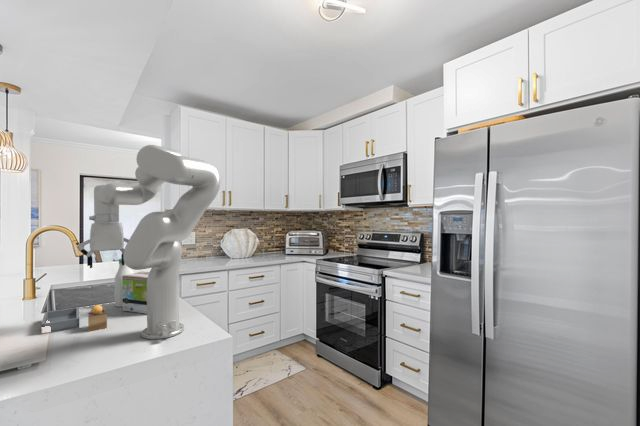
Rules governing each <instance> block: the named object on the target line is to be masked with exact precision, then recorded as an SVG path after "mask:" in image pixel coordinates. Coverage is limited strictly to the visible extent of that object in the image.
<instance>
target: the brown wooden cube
mask: <svg viewBox="0 0 640 426" xmlns="http://www.w3.org/2000/svg"><path fill="white" fill-rule="evenodd" d="M107 315H108V313H107V310H106V309H102V311H101V312H100V313H99V314H94V313H93V312H92V311H90V312H88V315H87V316H88V317H87V318H88V322H87V323H88V332H94V331H95V332H96V331H101V330H106V329H108V317H107ZM105 328H106V329H105ZM100 329H101V330H100Z"/></svg>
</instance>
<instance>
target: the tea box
mask: <svg viewBox="0 0 640 426" xmlns="http://www.w3.org/2000/svg"><path fill="white" fill-rule="evenodd" d="M149 272H150V271H137V272H134V273H133V274H129V275H125V276H122V284H123V288H122V289H123V307H122V311H123V312H132V313H139V314H145V315H147V278H148V275H149Z"/></svg>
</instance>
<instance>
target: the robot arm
mask: <svg viewBox="0 0 640 426" xmlns="http://www.w3.org/2000/svg"><path fill="white" fill-rule="evenodd" d="M135 159H136V160H135V161H136V163H137V166H138V167H136V169H135V173H134V174H135V179H136V181H137V182H138V183H139V184H132V183H131V184H130V183H117V182H116V183H114V182H111V183H107V184H100V185H98V184H97V185H96V186H94V188H93V215H91V216H89V217H88V218H89V219H88V220H89V221H93V223H91V225H90V229H89V230H90V232H89V239H87V240H85V241H83V242H81V243H78V244H77V245H76V246H77V248H78V250H79V251H80V253H82V255H84V256H86V260H87V263H86V264H87V267H88V266H89V269H92V268H93V254H94V253H95V252H104V251H119V250H120V252H121V258H120V259H122V265H124V263H125V264H126V265H127V266H128V267H129V268H131V269H132V270H133V271H134V270H135V271H141V270H147V269H150V271H148V272H149V275H148V278H147V314H146V327H145V328H144V329H142V331H141V337H142V338H144V339H147V340H161V339H166V338H171V337H175V336H177V335H180V334H181V333H182V332H183V331H184V330H185V325H184V324H183V323H181V322H180V265H181V260H182V256H183V255H182V254H183V247H182V244H181V242H180V241H183V240H186V239H187V238H188V237H190V235H191V234H192V232H193V231H194V230H195V227H196V226H197V225H198V223H199V222H200V220H201V218H202V217H203V215H204V213H205V212H206V210H207V209H208V208H209V207H210V206H211V204H212V203H213V202H214V200H215V198H216V197H217V195H218V193H219V191H220V187H221V176H220V173H219V170H218V169H217V167H216V166H215V165H213V163H211V162H208V161H205V160H201V159H199V158H192V157H188V156H187V157H186V156H184V155H183V154H182V153H181V152H179V151H178V150H176V149H173V148H169V147H164V146H159V145H156V144H147V145H145V146H142V148H140V149H139V150H138V152H137V155H136V158H135ZM164 183H169V184H172V185H179V186H189V187H191V188H190V189H189V190H187V191H186V192H184V193H183V194H182V195H181V196H180V197H179V199H178V200H177V201H176V203H175V205H174V206H173V207H172V209H171V210H168V211H153V212H150V213H148V214H146V215H145V216H143V217H142V218H141V219H140V221H139V222H138V224H137V226H136V227H135V229H134V231H133V233H132V234H131V236H130V238H126V237H124V228H123V224H122V222H120V206H122V205H123V206H139V205H140V206H141V205H143V204H145V203H146V202H148V201H150V200H152V199H153V198H155V196H156V195H157V193H158V190H159V186H160V185H163V184H164ZM125 243H126V244H125ZM88 244H89V249H90V250H89V251H88V250H86V249H85V247H84V246H86V245H88ZM124 246H125V247H124Z"/></svg>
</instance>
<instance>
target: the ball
mask: <svg viewBox="0 0 640 426" xmlns="http://www.w3.org/2000/svg"><path fill="white" fill-rule="evenodd" d="M102 310H103V306H102V305H101V304H96V305H93V306H92V308H91V312H93V313H94V314H99V313H100V312H101V311H102Z"/></svg>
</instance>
